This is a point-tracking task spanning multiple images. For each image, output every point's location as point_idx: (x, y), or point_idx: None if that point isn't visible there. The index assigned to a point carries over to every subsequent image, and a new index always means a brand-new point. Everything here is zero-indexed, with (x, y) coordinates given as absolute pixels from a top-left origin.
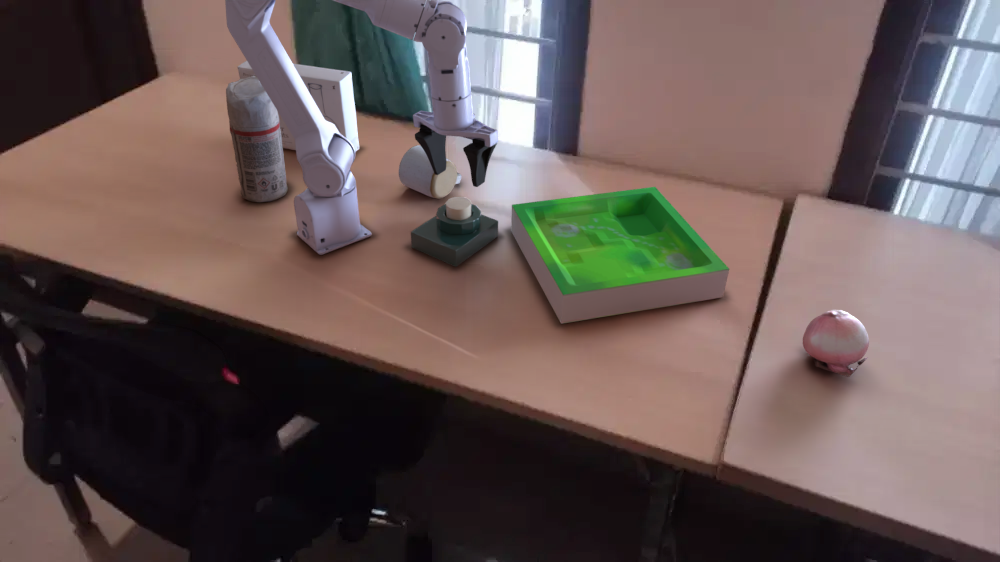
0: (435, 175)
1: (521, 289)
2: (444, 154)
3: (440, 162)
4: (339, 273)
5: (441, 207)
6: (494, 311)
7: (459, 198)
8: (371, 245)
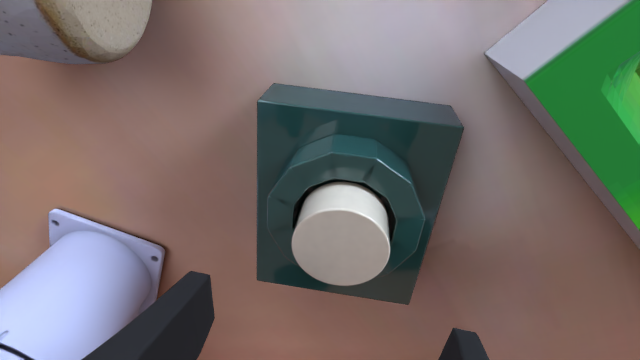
0: (85, 48)
1: (593, 281)
2: (155, 350)
3: (182, 348)
4: (219, 348)
5: (273, 222)
6: (547, 349)
7: (324, 223)
8: (192, 270)
